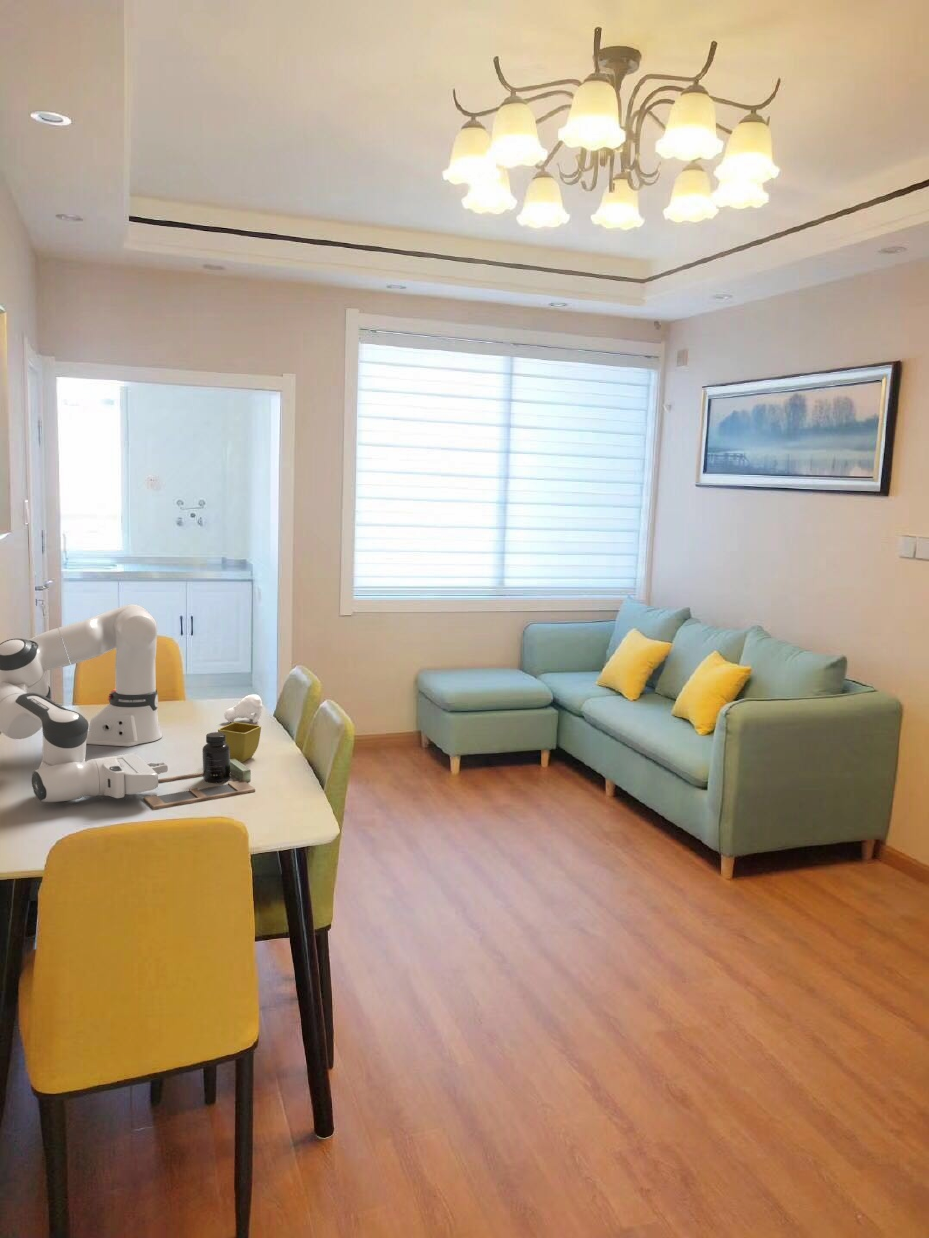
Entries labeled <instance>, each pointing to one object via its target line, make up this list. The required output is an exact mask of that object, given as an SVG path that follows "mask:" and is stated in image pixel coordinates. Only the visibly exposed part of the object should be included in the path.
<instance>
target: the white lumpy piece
mask: <svg viewBox="0 0 929 1238" xmlns="http://www.w3.org/2000/svg"><path fill="white" fill-rule="evenodd" d="M262 709H263V701H262V699H261V697H260V696H259V695H258V694H249V695H246V696H244V697H243V698H242V699H240V700H239V702H237V703H236V704H235V705H234V706H233V707H230V708H227V709H226V710H225V711H224V715H223V716H224V719H225V720H226V721H227V722H228V724H232V723H234V722H235V720H236V719H238V718H240V719H245V718H246V719H249V720H252V723H253V724H256V723H257V722H258V721H259V720H260V719H261V716H262ZM230 722H231V723H230Z"/></svg>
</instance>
